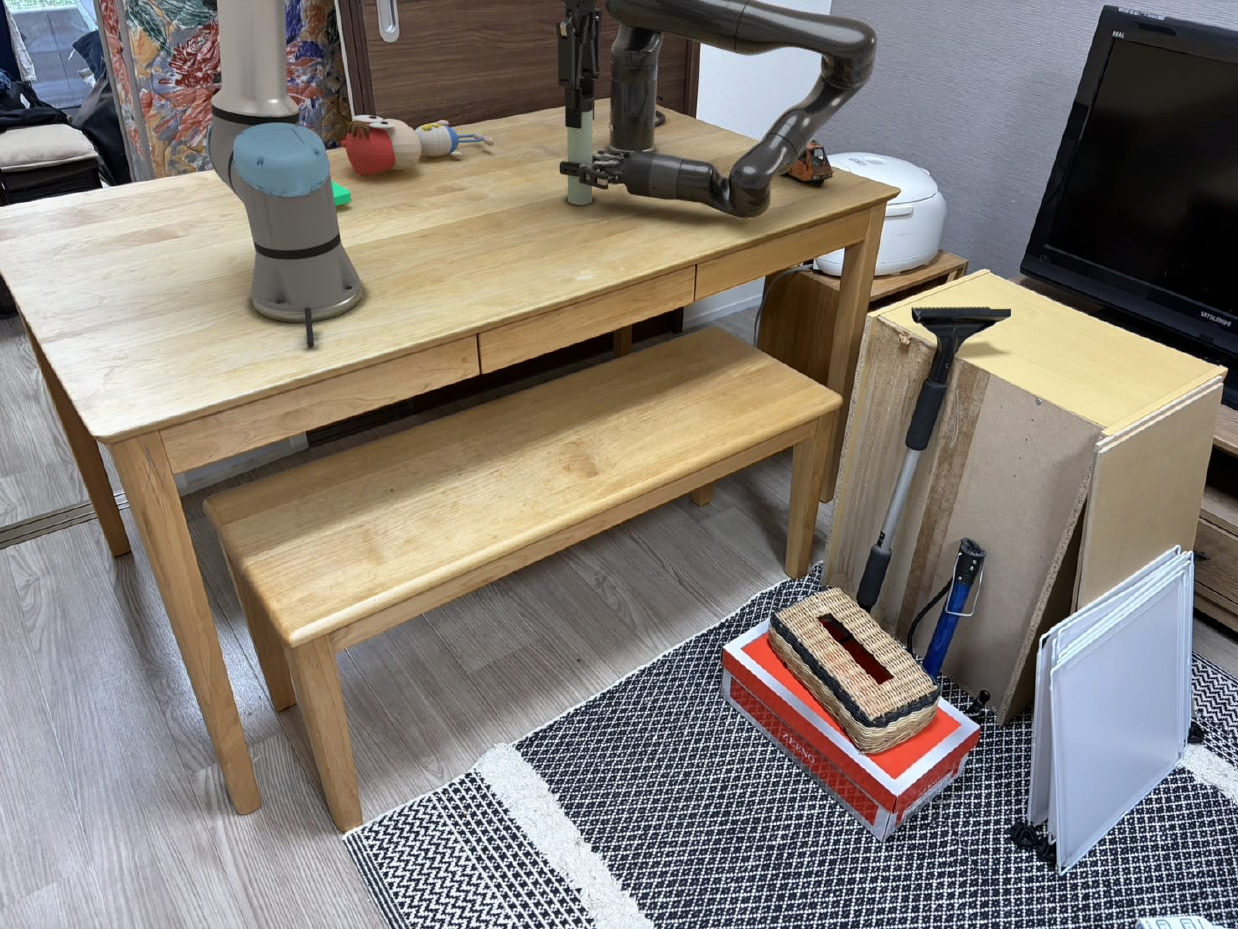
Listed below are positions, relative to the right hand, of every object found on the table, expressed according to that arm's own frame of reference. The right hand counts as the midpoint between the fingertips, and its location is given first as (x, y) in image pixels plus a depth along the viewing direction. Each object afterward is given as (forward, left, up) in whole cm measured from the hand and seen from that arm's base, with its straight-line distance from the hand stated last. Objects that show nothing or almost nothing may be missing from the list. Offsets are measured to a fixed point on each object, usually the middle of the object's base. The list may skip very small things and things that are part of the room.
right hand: (565, 162), depth 165 cm
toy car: (-27, +39, -7) cm, 48 cm away
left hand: (0, +3, +7) cm, 8 cm away
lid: (0, +3, +11) cm, 12 cm away
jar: (0, +3, -7) cm, 7 cm away
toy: (-7, -33, -7) cm, 35 cm away
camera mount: (+19, -40, -7) cm, 45 cm away
